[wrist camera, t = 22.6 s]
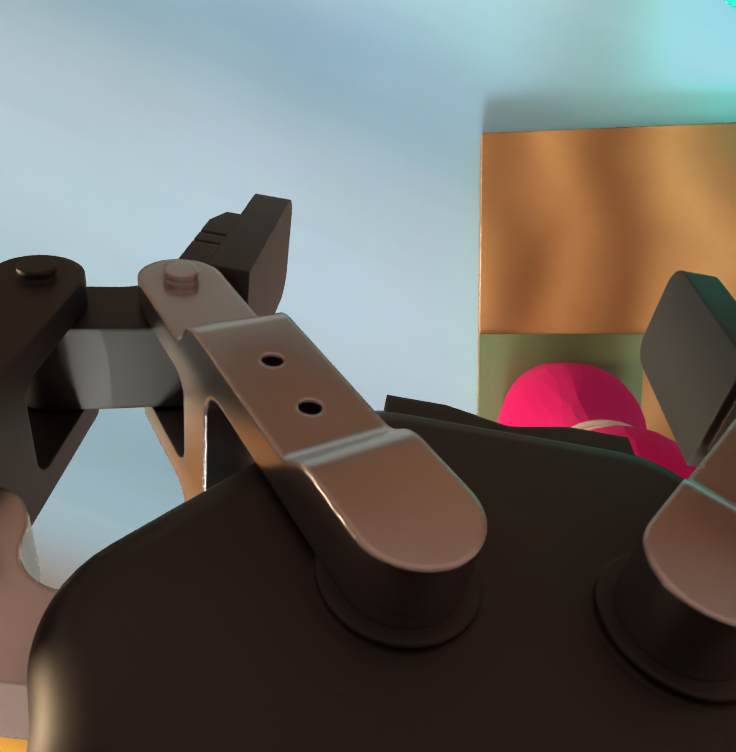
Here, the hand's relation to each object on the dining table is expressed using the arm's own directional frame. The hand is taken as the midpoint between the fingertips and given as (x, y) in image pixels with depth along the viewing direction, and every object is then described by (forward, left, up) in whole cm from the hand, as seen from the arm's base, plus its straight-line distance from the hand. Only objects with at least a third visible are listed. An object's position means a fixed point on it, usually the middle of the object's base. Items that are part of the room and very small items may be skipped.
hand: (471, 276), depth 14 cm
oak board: (+8, -2, -26) cm, 27 cm away
